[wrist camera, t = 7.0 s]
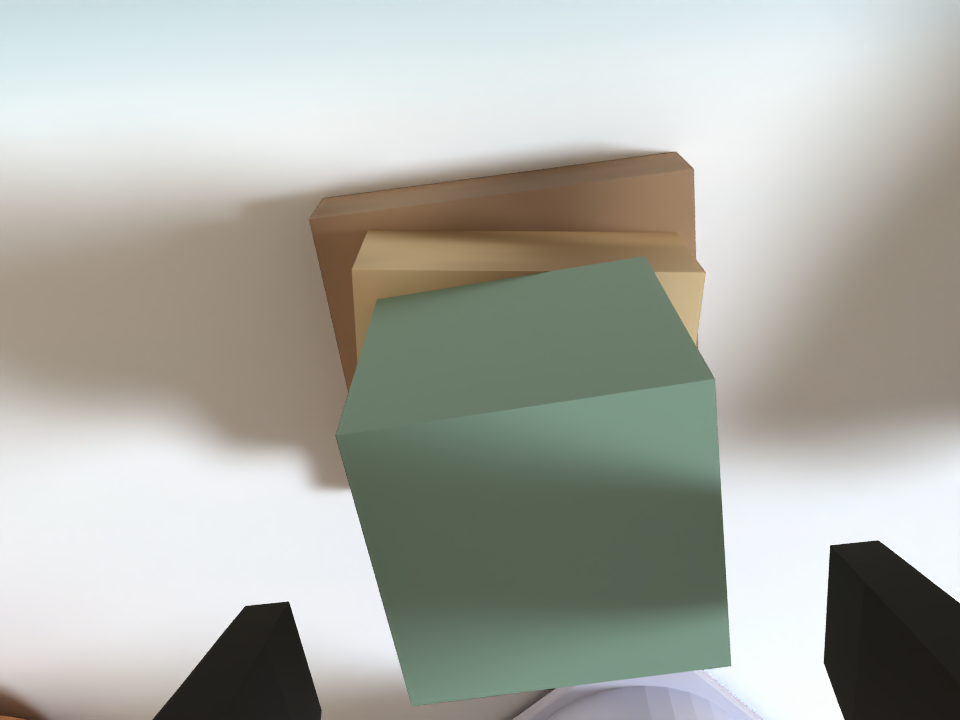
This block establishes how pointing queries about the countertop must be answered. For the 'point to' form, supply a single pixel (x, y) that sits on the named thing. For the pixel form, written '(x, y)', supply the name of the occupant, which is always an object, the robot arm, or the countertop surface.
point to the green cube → (539, 483)
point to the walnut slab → (503, 215)
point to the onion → (9, 718)
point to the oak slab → (512, 263)
